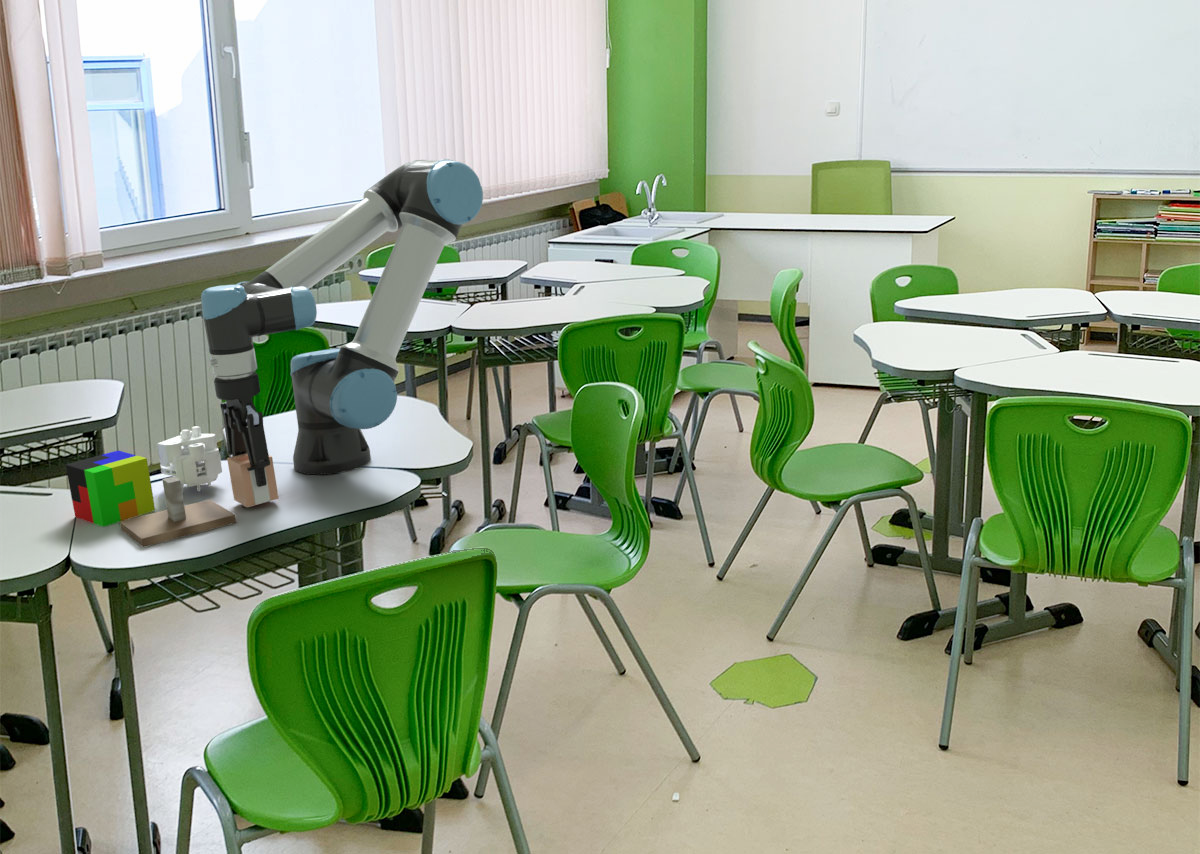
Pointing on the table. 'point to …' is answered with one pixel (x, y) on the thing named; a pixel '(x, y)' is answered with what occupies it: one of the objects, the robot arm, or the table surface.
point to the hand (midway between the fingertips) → (255, 497)
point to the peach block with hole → (248, 480)
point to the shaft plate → (180, 528)
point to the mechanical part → (191, 458)
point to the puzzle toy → (110, 488)
